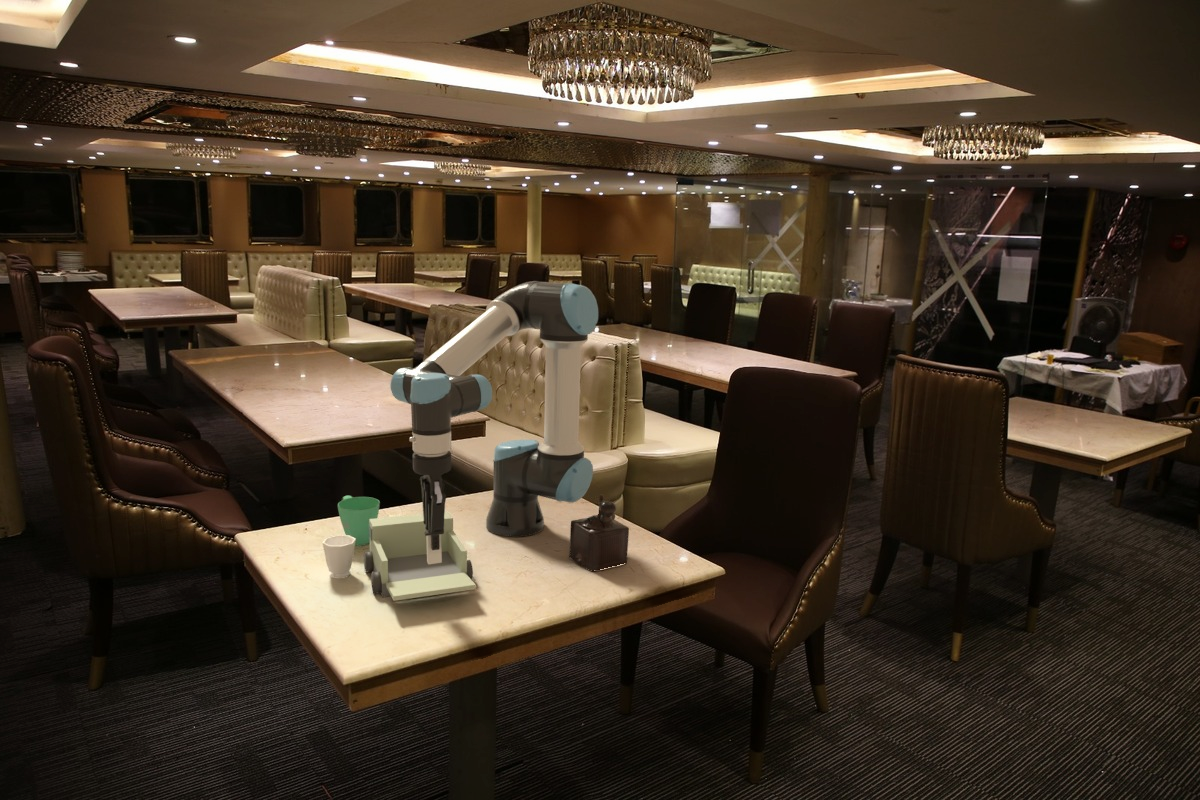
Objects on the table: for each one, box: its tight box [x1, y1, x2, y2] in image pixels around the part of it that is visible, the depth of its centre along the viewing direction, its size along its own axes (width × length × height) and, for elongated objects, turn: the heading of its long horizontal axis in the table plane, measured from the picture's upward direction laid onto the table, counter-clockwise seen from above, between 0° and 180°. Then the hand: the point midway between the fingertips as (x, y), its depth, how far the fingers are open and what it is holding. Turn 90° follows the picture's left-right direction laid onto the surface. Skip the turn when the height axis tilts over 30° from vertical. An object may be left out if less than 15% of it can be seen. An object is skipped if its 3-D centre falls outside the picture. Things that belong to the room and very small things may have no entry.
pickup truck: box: [363, 510, 474, 598], centre depth 174 cm, size 21×18×11 cm
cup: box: [322, 534, 356, 580], centre depth 174 cm, size 7×10×8 cm
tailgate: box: [386, 572, 477, 602], centre depth 162 cm, size 17×1×9 cm
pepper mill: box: [568, 494, 630, 572], centre depth 183 cm, size 16×11×18 cm
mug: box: [337, 495, 381, 547], centre depth 193 cm, size 15×10×10 cm
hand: (434, 561), depth 160 cm, fingers closed
